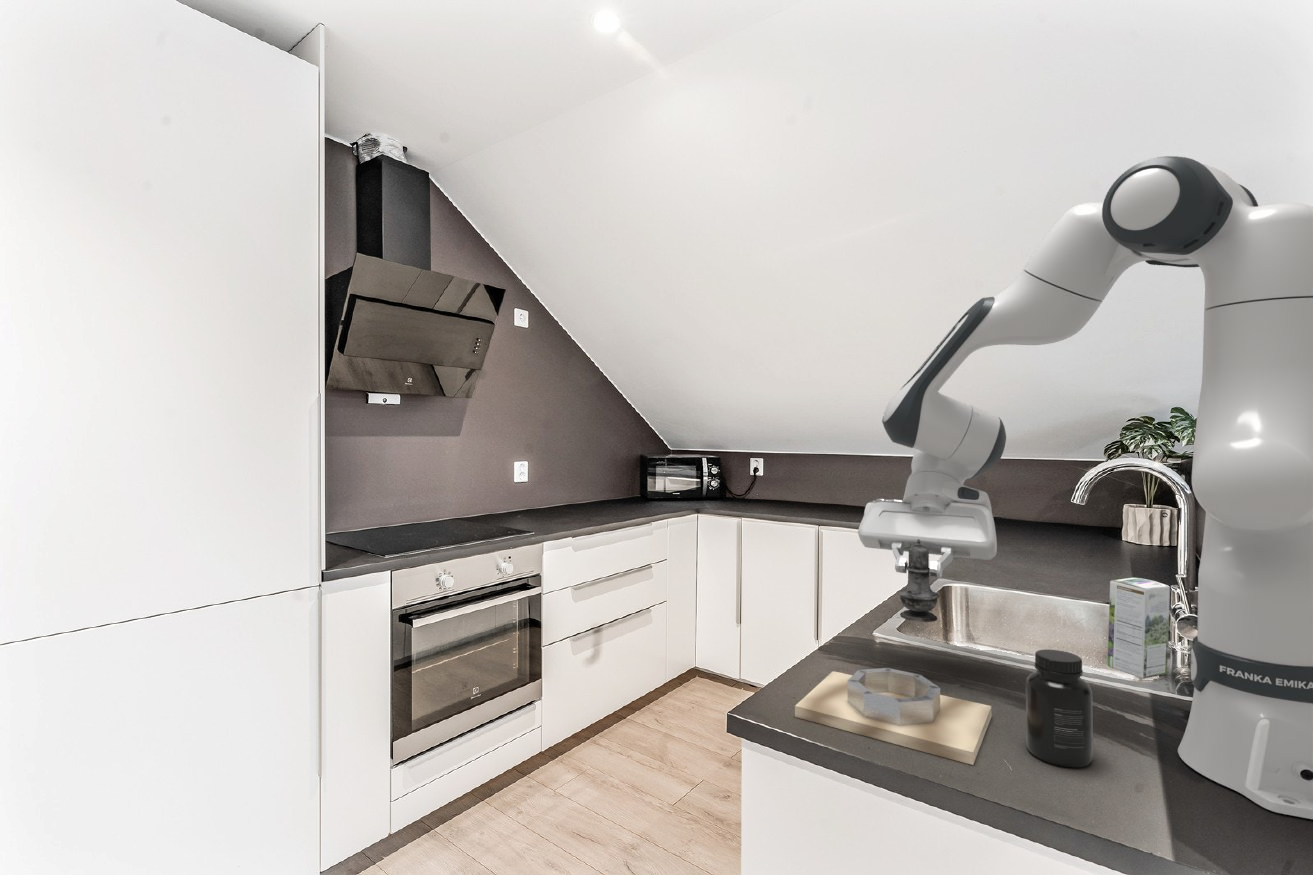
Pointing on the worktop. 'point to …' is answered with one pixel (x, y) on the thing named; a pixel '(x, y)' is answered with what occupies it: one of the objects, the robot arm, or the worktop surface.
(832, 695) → the carrier plate
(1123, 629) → the syrup box
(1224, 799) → the worktop surface
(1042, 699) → the supplement bottle
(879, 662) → the worktop surface
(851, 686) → the metal collar
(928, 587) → the dark grey turned piece
